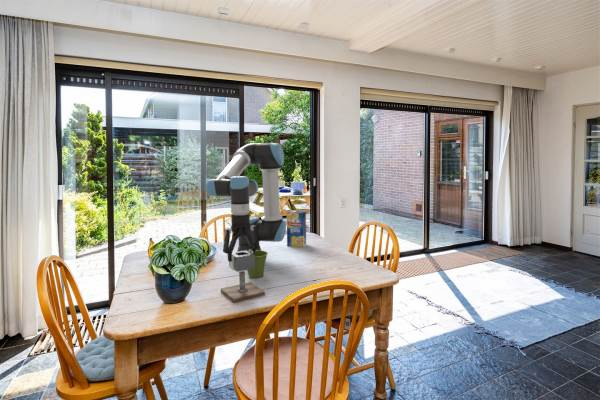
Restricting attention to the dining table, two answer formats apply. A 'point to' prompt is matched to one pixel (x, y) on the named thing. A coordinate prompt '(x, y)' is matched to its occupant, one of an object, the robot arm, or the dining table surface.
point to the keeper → (242, 290)
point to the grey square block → (243, 260)
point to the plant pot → (258, 264)
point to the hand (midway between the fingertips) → (241, 266)
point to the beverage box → (296, 228)
